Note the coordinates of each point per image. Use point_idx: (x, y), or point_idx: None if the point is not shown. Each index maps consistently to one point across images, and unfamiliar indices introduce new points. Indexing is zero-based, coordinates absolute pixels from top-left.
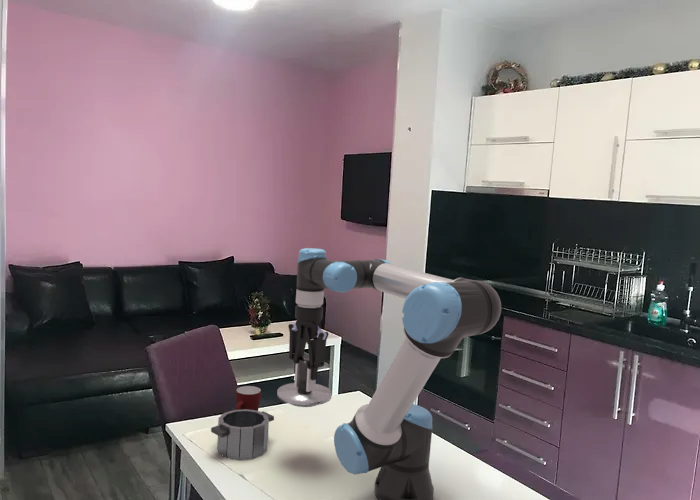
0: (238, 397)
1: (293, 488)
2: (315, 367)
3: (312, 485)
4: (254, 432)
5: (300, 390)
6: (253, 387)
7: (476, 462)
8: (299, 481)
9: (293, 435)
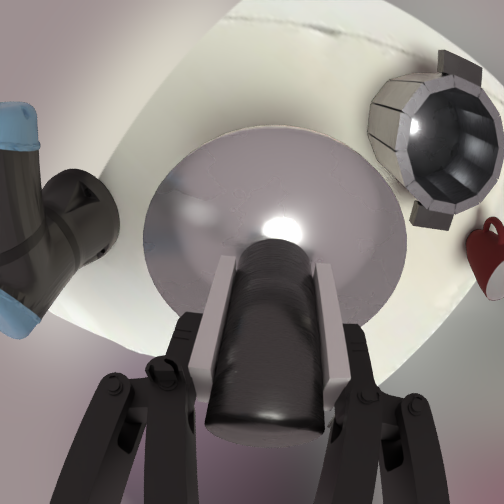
0: None
1: (202, 70)
2: (124, 376)
3: (184, 109)
4: (395, 111)
5: (269, 247)
6: (501, 296)
7: (110, 336)
8: (215, 99)
9: None
